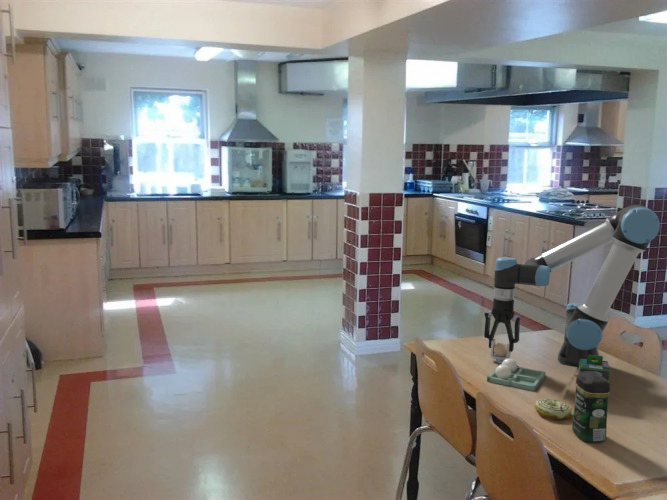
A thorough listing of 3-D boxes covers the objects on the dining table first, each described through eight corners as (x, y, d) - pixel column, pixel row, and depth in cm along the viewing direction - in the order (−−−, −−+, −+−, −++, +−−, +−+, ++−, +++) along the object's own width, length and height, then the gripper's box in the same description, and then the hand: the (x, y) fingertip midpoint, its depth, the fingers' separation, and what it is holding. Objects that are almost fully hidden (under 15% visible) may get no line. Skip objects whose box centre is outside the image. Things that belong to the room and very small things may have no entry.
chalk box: (605, 393, 209) (609, 351, 206) (607, 404, 200) (611, 360, 198) (576, 389, 212) (579, 348, 209) (577, 400, 203) (580, 356, 201)
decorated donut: (566, 425, 185) (566, 413, 184) (530, 415, 191) (531, 404, 190) (575, 413, 194) (575, 401, 193) (540, 404, 200) (541, 393, 199)
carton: (545, 378, 221) (545, 372, 221) (534, 393, 208) (534, 386, 207) (500, 369, 230) (500, 363, 229) (486, 383, 216) (487, 377, 216)
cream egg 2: (512, 378, 218) (513, 364, 217) (508, 383, 214) (509, 368, 213) (497, 375, 221) (498, 361, 220) (492, 380, 216) (493, 365, 215)
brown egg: (509, 355, 236) (510, 342, 235) (505, 359, 231) (506, 346, 231) (495, 353, 239) (496, 339, 238) (491, 357, 234) (492, 343, 233)
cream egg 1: (518, 372, 225) (519, 358, 224) (514, 376, 220) (515, 362, 219) (503, 369, 227) (504, 355, 226) (499, 373, 223) (500, 359, 222)
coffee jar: (567, 428, 182) (572, 368, 179) (593, 428, 183) (598, 368, 180) (582, 444, 173) (588, 381, 170) (610, 443, 173) (615, 380, 170)
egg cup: (507, 363, 236) (507, 354, 236) (503, 366, 233) (504, 358, 232) (496, 361, 238) (496, 352, 238) (492, 364, 235) (493, 355, 234)
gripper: (476, 297, 233) (473, 356, 237) (525, 304, 223) (522, 365, 227) (483, 293, 239) (480, 350, 243) (531, 299, 230) (527, 359, 234)
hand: (500, 357), depth 235 cm, fingers closed on brown egg, 5 cm apart
